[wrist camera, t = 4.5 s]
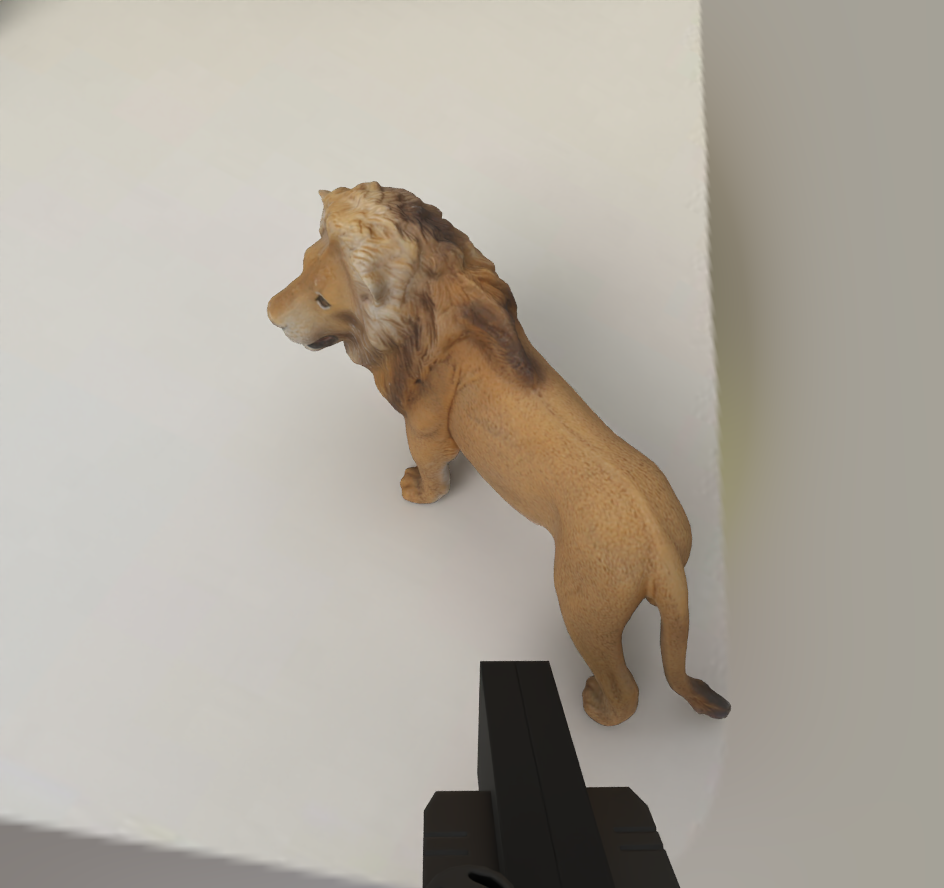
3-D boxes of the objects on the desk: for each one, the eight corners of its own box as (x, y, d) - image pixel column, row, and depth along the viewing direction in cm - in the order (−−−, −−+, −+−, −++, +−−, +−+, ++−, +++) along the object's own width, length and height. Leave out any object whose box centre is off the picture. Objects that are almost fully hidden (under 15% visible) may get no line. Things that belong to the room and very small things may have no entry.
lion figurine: (281, 440, 24) (215, 214, 17) (405, 347, 27) (396, 109, 19) (664, 795, 20) (815, 701, 12) (777, 644, 22) (965, 483, 14)
